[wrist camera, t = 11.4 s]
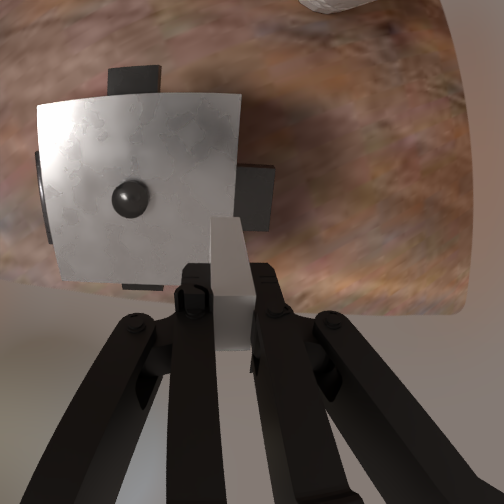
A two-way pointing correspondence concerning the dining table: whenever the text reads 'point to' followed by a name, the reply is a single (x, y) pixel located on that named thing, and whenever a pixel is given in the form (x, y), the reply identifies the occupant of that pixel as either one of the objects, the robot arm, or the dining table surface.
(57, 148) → the lid
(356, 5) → the white cup
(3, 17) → the dining table surface
